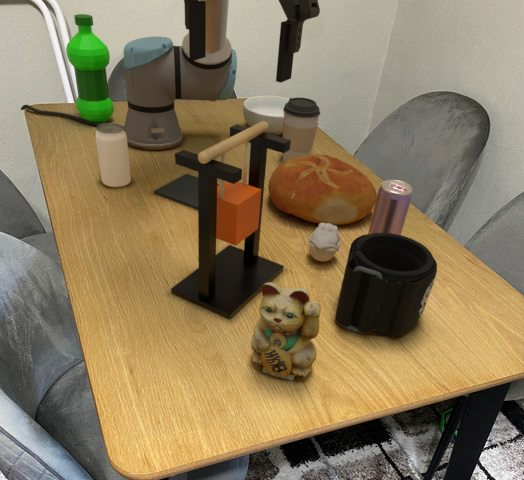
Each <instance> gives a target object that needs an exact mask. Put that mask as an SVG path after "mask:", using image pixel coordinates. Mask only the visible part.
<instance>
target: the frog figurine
mask: <svg viewBox="0 0 524 480" xmlns="http://www.w3.org/2000/svg"><path fill="white" fill-rule="evenodd" d="M338 229H339V228H338V225H332V224H330V223H326V224H325V223H320V224H318V226H317V227H316V228H315V229H314V230H313V231H312V233H311V235H310V236H309V238H308V248H309V253H310V255H311V257H312V258H313V259H314V260H315V261H318V262H323V263H325V262H328V261H330V260H331V259H333V258H334V256H335V254H336V253H337V252H338V251H339V250H340V248H341V245H342V244H341V234H340V233H339V231H338Z"/></svg>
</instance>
